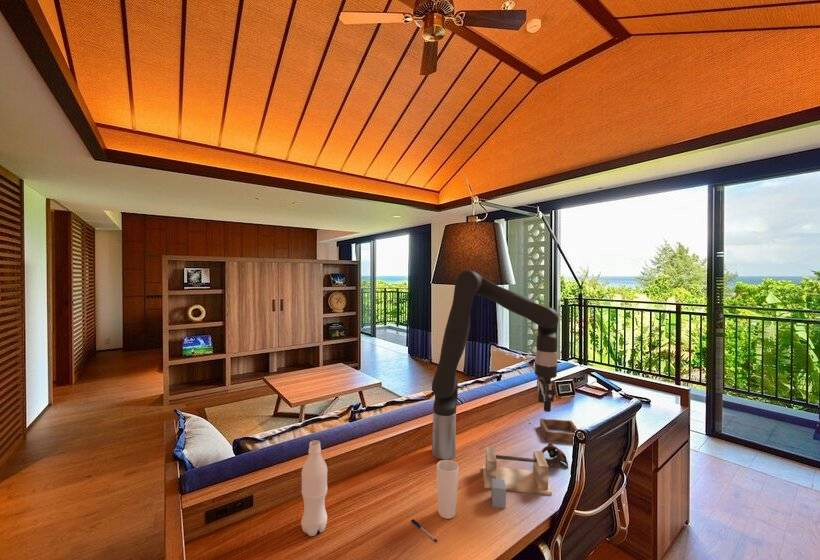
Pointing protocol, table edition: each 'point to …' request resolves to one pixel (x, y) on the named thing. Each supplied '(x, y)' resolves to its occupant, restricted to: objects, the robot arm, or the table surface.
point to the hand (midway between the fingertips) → (544, 406)
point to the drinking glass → (447, 487)
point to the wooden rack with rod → (518, 473)
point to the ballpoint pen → (423, 529)
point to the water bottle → (314, 491)
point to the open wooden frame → (557, 424)
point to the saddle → (498, 493)
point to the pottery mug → (554, 455)
